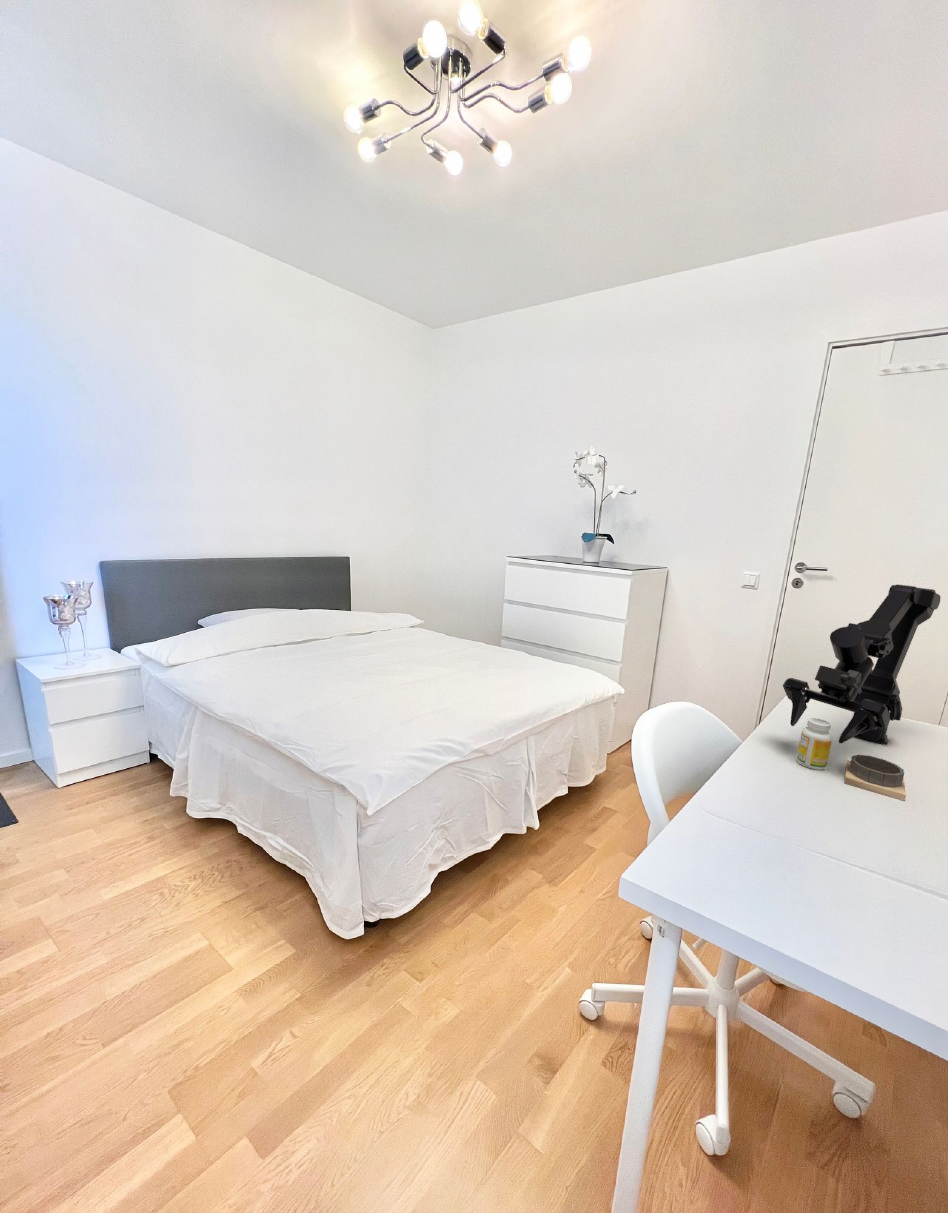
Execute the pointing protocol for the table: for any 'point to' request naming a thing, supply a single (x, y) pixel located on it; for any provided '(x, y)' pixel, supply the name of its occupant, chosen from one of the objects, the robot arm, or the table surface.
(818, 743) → the supplement bottle
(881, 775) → the ring holder
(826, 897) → the table surface
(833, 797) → the table surface
